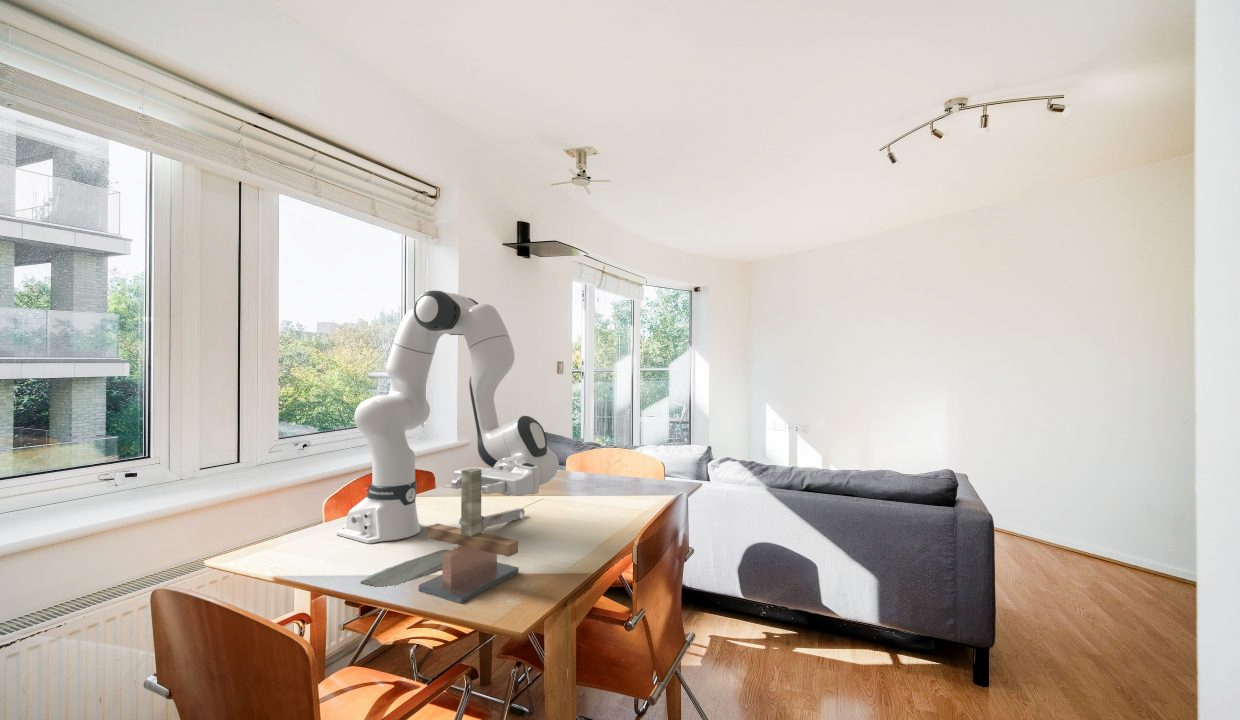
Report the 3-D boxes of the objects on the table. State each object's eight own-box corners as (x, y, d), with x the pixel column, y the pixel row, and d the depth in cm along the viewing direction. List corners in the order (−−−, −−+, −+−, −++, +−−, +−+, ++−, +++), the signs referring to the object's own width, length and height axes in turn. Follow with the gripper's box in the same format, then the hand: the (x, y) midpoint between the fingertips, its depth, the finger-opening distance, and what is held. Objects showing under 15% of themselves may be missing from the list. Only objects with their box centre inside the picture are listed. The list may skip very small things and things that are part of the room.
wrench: (523, 526, 168) (462, 545, 140) (518, 525, 168) (456, 544, 141) (525, 500, 168) (465, 513, 141) (520, 499, 169) (459, 512, 141)
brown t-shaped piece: (427, 537, 123) (427, 465, 123) (437, 534, 126) (437, 463, 126) (508, 556, 111) (509, 477, 111) (518, 552, 114) (518, 474, 114)
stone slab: (466, 566, 131) (439, 553, 137) (467, 555, 131) (440, 542, 136) (384, 601, 113) (356, 584, 118) (385, 589, 112) (357, 572, 118)
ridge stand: (418, 590, 113) (419, 552, 113) (479, 562, 129) (479, 529, 129) (460, 603, 108) (460, 563, 108) (518, 572, 123) (518, 537, 123)
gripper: (478, 458, 135) (434, 468, 123) (544, 467, 125) (504, 478, 113) (477, 483, 135) (434, 495, 123) (544, 494, 125) (504, 508, 113)
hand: (468, 487), depth 118 cm, fingers open, 8 cm apart
